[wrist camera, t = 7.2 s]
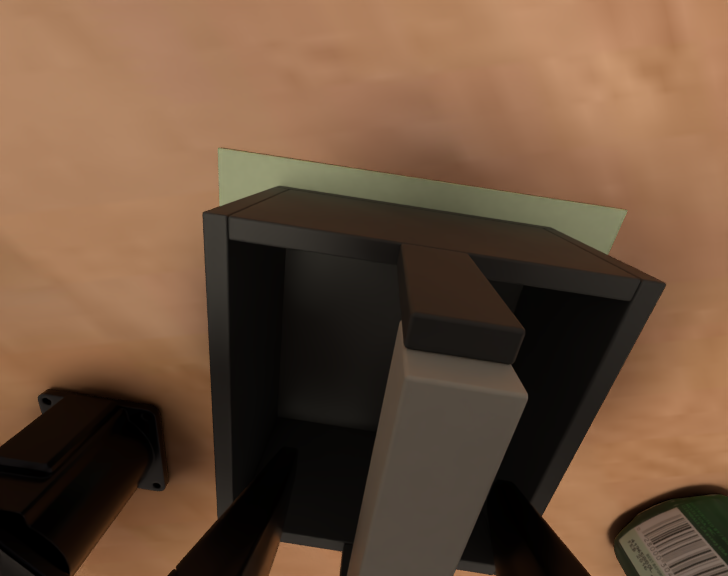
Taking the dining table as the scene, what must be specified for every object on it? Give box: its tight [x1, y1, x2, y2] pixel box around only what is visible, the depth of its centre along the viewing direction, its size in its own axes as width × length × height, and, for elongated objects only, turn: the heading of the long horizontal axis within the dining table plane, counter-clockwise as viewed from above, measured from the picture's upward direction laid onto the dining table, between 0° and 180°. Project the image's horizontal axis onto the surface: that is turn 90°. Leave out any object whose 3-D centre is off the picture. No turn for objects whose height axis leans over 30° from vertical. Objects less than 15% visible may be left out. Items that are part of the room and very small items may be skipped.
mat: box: [218, 148, 627, 255], centre depth 16 cm, size 14×16×1 cm
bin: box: [203, 186, 666, 576], centre depth 11 cm, size 12×11×10 cm
